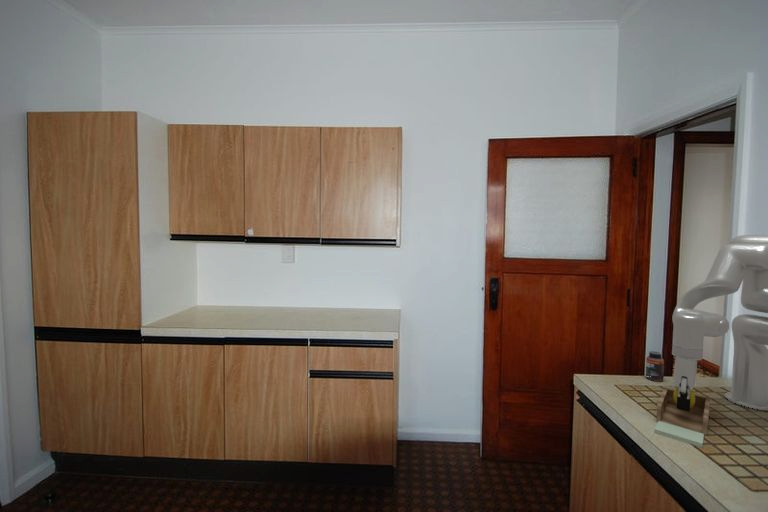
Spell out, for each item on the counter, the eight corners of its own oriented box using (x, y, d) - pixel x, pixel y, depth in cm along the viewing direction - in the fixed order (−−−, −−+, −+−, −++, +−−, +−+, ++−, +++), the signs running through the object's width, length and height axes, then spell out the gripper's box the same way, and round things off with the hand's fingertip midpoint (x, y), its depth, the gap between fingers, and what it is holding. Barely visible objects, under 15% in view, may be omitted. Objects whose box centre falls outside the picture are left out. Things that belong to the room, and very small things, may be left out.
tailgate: (658, 420, 114) (654, 429, 109) (704, 433, 107) (702, 443, 101) (658, 425, 114) (654, 433, 109) (703, 438, 107) (702, 448, 101)
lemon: (698, 414, 114) (700, 390, 114) (678, 413, 116) (680, 388, 115) (687, 406, 120) (689, 383, 119) (668, 405, 121) (670, 381, 120)
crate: (663, 403, 128) (664, 387, 128) (709, 415, 120) (710, 398, 120) (656, 423, 115) (657, 404, 115) (706, 437, 107) (707, 418, 107)
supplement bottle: (661, 377, 152) (662, 351, 151) (665, 383, 146) (666, 355, 146) (644, 375, 154) (645, 349, 153) (647, 380, 149) (648, 353, 148)
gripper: (675, 343, 125) (672, 394, 126) (669, 355, 113) (666, 412, 114) (703, 348, 120) (700, 401, 121) (701, 361, 108) (697, 420, 109)
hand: (684, 405), depth 117 cm, fingers closed on lemon, 5 cm apart
